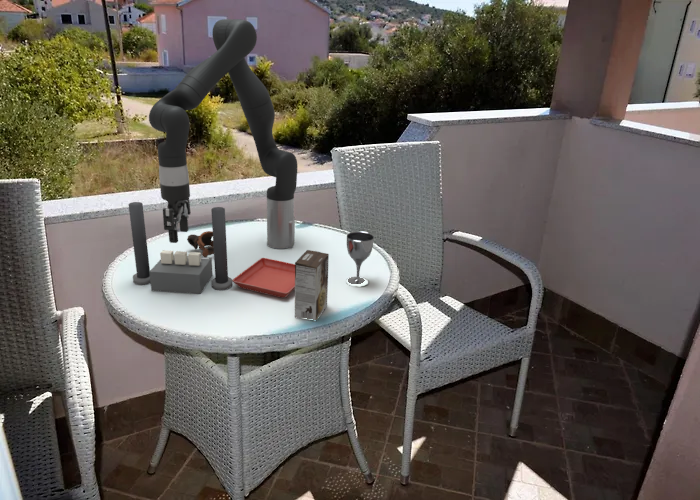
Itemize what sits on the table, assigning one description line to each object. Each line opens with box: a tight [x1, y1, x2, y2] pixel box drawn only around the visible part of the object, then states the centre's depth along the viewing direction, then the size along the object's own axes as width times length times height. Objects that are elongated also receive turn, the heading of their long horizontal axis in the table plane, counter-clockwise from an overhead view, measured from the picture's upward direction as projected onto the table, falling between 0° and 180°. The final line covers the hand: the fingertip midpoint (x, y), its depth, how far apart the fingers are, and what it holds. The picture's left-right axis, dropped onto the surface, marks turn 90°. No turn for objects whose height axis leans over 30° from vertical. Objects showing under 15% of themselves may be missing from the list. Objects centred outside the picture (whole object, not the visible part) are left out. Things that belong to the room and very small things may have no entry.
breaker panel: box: [149, 255, 213, 295], centre depth 150 cm, size 14×12×6 cm
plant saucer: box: [232, 257, 295, 299], centre depth 154 cm, size 18×18×3 cm
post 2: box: [210, 206, 234, 291], centre depth 147 cm, size 6×6×24 cm
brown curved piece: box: [186, 230, 214, 257], centre depth 172 cm, size 12×9×8 cm
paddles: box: [159, 249, 202, 266], centre depth 149 cm, size 12×2×3 cm, turn 88°
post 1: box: [128, 201, 151, 286], centre depth 147 cm, size 6×6×24 cm
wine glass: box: [346, 231, 375, 284], centre depth 155 cm, size 8×8×15 cm
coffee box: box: [294, 249, 330, 321], centre depth 137 cm, size 9×6×16 cm
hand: (179, 236), depth 146 cm, fingers open, 8 cm apart
